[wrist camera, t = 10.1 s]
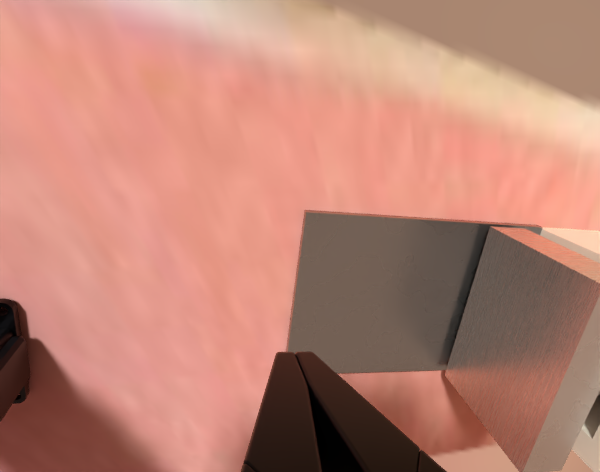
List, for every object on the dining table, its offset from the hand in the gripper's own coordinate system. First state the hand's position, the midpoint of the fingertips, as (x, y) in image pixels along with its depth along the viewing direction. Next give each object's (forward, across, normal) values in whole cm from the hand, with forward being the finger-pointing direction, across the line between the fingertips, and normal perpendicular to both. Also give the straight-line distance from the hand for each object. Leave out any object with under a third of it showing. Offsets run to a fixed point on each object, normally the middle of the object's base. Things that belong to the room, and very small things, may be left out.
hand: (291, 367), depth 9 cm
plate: (+13, -11, +6) cm, 18 cm away
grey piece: (+12, -18, +5) cm, 23 cm away
